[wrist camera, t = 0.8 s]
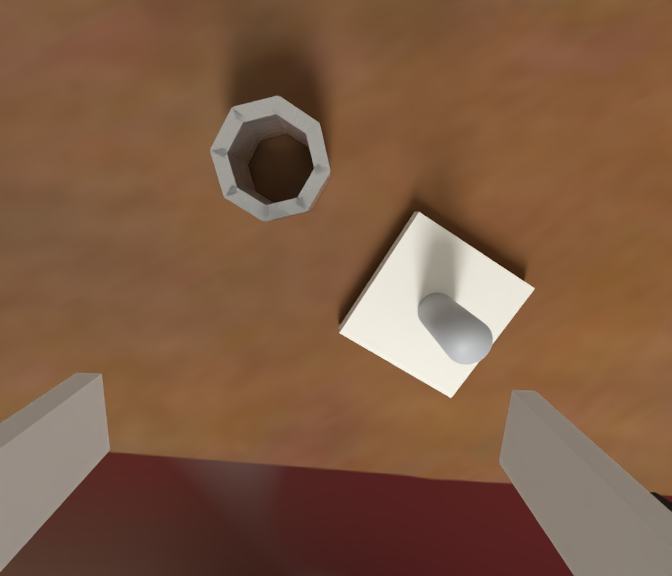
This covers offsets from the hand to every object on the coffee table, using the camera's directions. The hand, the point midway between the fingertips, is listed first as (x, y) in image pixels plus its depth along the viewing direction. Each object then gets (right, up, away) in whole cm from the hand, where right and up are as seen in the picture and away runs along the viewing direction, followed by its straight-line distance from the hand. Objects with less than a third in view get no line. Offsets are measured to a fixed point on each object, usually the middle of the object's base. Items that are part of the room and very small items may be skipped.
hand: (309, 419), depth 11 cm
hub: (-3, +14, +17) cm, 22 cm away
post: (+9, +3, +20) cm, 22 cm away
